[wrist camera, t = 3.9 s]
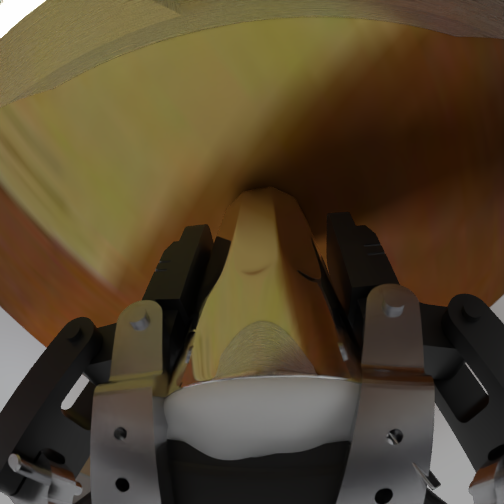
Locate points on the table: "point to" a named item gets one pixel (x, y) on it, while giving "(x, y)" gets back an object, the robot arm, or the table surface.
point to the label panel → (183, 28)
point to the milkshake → (265, 342)
